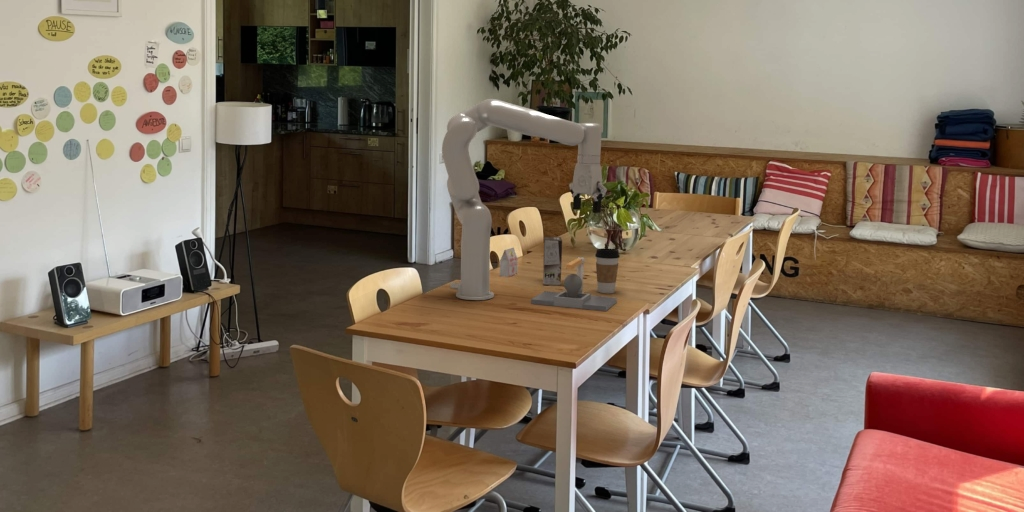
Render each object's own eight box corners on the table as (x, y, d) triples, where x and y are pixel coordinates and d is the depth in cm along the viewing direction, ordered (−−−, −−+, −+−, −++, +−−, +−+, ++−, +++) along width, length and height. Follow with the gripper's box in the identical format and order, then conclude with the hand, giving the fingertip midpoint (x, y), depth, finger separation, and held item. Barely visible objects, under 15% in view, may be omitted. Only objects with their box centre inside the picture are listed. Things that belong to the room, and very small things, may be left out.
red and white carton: (499, 276, 353) (500, 249, 351) (508, 273, 359) (509, 247, 357) (508, 277, 351) (508, 250, 349) (517, 274, 357) (517, 248, 355)
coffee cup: (600, 294, 323) (602, 251, 321) (589, 289, 331) (591, 247, 329) (622, 293, 327) (624, 250, 324) (611, 288, 334) (612, 246, 332)
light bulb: (565, 306, 305) (566, 276, 303) (561, 302, 311) (561, 272, 309) (583, 306, 306) (584, 275, 304) (578, 302, 312) (579, 272, 310)
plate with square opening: (530, 303, 308) (531, 266, 306) (544, 295, 321) (545, 259, 319) (605, 311, 299) (607, 273, 297) (616, 302, 312) (618, 265, 310)
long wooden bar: (564, 268, 302) (565, 264, 302) (577, 261, 315) (577, 257, 315) (572, 269, 301) (572, 264, 301) (585, 262, 314) (585, 257, 314)
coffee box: (561, 285, 338) (562, 240, 335) (543, 284, 338) (544, 240, 336) (560, 280, 347) (561, 236, 344) (542, 279, 347) (543, 236, 344)
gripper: (563, 158, 322) (561, 208, 325) (598, 162, 308) (596, 214, 311) (579, 158, 326) (577, 207, 329) (615, 162, 313) (612, 213, 316)
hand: (586, 211), depth 320 cm, fingers open, 9 cm apart
